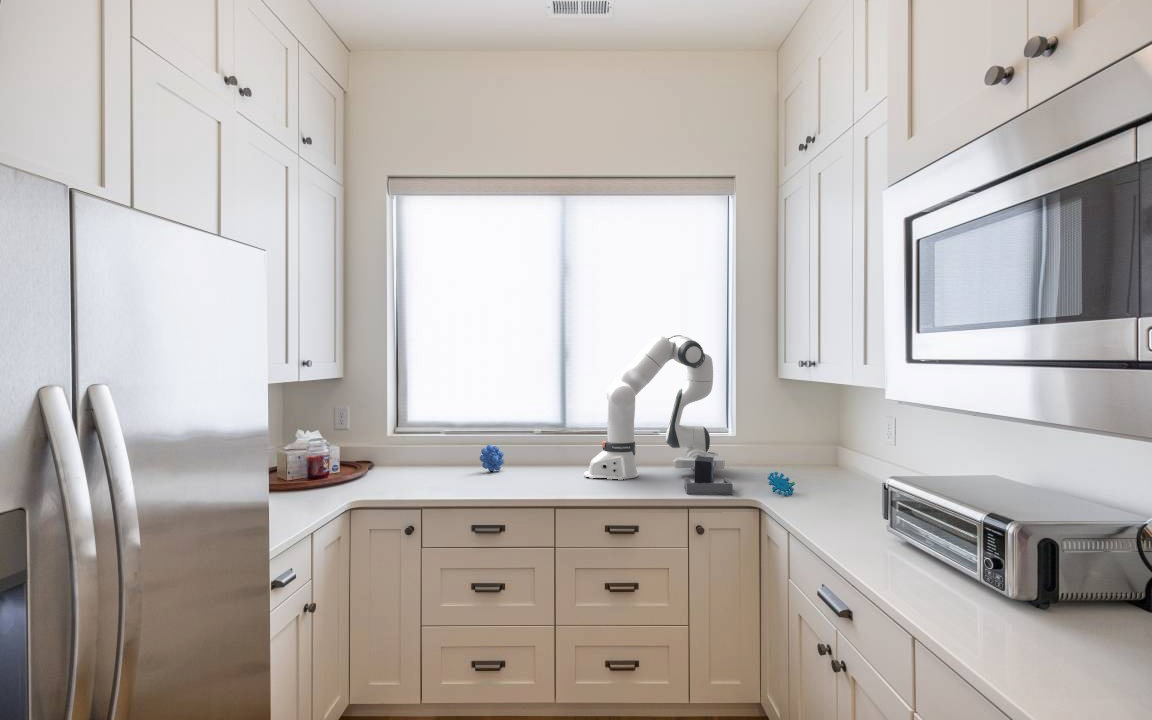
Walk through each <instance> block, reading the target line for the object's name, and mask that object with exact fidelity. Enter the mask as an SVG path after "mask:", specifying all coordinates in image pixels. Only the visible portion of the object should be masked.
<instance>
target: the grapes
mask: <svg viewBox="0 0 1152 720" xmlns="http://www.w3.org/2000/svg"><path fill="white" fill-rule="evenodd" d="M504 455H505V454H504V452H503V451H501V450H500V447H499V446H498V445H491V444H487V445H486V448H485V447H484V448H481V455H480V456H479V460H480V462H482V468H483V469H484V470H485V469H487V470H488V471H489V472H490V471H494V472H495V471H497V470H499V471H500V470H501V468H502V467H501V466H503V465H504V464H505V460H504V459H503V457H504Z"/></svg>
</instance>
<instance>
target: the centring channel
mask: <svg viewBox="0 0 1152 720" xmlns="http://www.w3.org/2000/svg"><path fill="white" fill-rule="evenodd" d="M683 480H684V481H683V482H684V483H683V484H684V486H683V487H684V490H685V493H686V495H698V496H699V495H700V496H701V495H702V496H703V495H704V496H705V495H709V496H710V495H711V496H712V495H713V496H714V495H715V496H733V483H732V481H731V480H730V478H728V477H723V482H713V483H694V482H691V480H690V478H689V477H683Z"/></svg>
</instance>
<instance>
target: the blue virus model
mask: <svg viewBox="0 0 1152 720" xmlns="http://www.w3.org/2000/svg"><path fill="white" fill-rule="evenodd" d="M778 475H779V476H778ZM783 477H785V474H784V473H780V474H779V472H778V471H774V472H770V473H769V474H768V476H767V480H768V485H769V486H771V490H772V493H774V492H775V493H776V492H777V495H779V496H781V495H782V496H783V497H788V496H792V495H793V492H794V491H795V488H794V486H795V485H796V483H795V481H792V482H790V480H791V479H790V478H789V477H788V476H787V477H785V478H783Z"/></svg>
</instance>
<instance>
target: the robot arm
mask: <svg viewBox="0 0 1152 720" xmlns="http://www.w3.org/2000/svg"><path fill="white" fill-rule="evenodd" d="M671 360H674V361H675V362H677V363H679V364H682V365H683V366H685V367H686V369H687V372H686V381H685V384H684V385H683V387H682V388H680V389H679V390H678V392H677V394H676V396H675V397H676V398H675V401H674V404H673V409H672V413H671V415H670V421H669V424H668V428H667V429H666V433H665V441H666V443H667V445H668V446H669V447H671V448H672V449H679V448H682V449H683V448H684V449H685V451H684V456H676V457H675V458H674V459H672V463H673V464H674V468H675V469H690V470H692V471H693V472H695V471H694V470H695V459H696V458H697V457H698V456H703V457H714V470H718V469H720V470H722V469H725V466H726V465H725V462H726V461H725V459H724V458H723V457H722V456H721V455H719V453H718V452H712V451H711V452H710V451H709V449H710V446H711V445H710V443H711V439H710V432H709V431H708V429H707V428H706V427H705V426H702V425H700V426H699V425H684V424H683V425H682V424H680V423H681V419H682V415H683V412H684V409H685V407H687V405H689V404H692V403H695V402H698V401H700V400H703V399H705V398H707V397H708V396H709V395H710V394H711V392H712V390H713V384H714V365H713V363H714V362H713V359H712V356H710V355H709V354H707V353H704V350H703V347H702V346H701V344H700V343H698V342H697V341H696V340H693V339H692V338H690V337H687V336H684V335H679V334H678V335H672V336H671V337H668V338H667V337H665V336H659V335H658V336H656V337H655V338H653V339H652V340H651V341H649V343H648V344H647V345H645V346H644V348H642V350H641V351H640V352H639V353H638V354H637V355H636V357H634V359H633V360H632V361H631V363H629V365H628V366H627V367H626V368H625V369H624V370H623V371H622V372H621V373H620V374H619V375H617V377H616V378H615V379H614V380H613V382H612V383H610V384H609V386H608V388H607V389H606V399H607V402H608V404H607V422H606V423H607V441H606V440H603V441H602V442H601V445H602V451H600V452H599V453H598V454H597V455H595V456H594V457H593V458H592V459H591V460H590V462H589V468H588V470H586V471H584V473H583V476H584V475H585V476H587V477H595V478H607V479H606V480H612V479H618V481H624V480H628V479H634V478H637V477H638V476H639V472H638V469H637V464H636V449H637V448H636V442H635V416H636V415H635V414H636V396H637V395H638V394H639V393H640V392H641V391H642V390H643V389H644V388H645V387H646V386H647V385H648V384H649V383H650V382H652V380H653V379H654V378H655V377H656V375H657V374H658V373H659V372H660V370H662V368H663V367H664V366H665V365H666V363H668V362H669V361H671ZM623 479H624V480H623Z"/></svg>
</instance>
